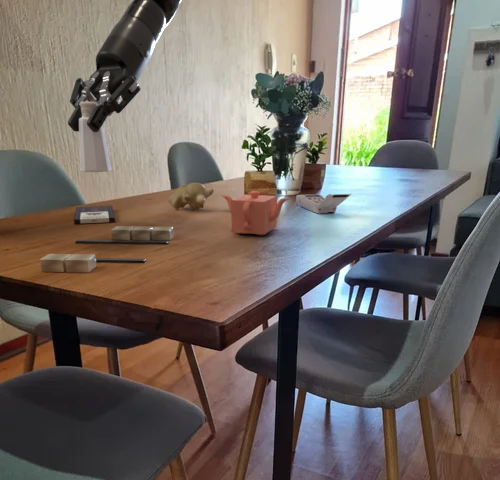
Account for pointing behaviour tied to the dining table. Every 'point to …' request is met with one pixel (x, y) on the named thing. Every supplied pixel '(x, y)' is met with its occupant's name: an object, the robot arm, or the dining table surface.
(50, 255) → the front word
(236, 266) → the dining table surface
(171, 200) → the rhino figurine
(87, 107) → the pepper shaker
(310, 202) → the mobile phone
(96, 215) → the chocolate bar
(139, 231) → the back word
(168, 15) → the robot arm
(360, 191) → the dining table surface
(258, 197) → the teapot
